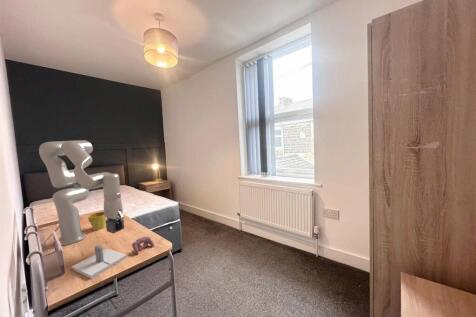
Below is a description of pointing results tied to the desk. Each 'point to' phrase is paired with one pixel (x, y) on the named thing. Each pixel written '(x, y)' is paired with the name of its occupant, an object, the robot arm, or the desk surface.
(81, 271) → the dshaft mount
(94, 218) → the plant pot
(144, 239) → the video game controller
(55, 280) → the desk surface
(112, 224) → the grey u-shaped bracket
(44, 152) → the robot arm
